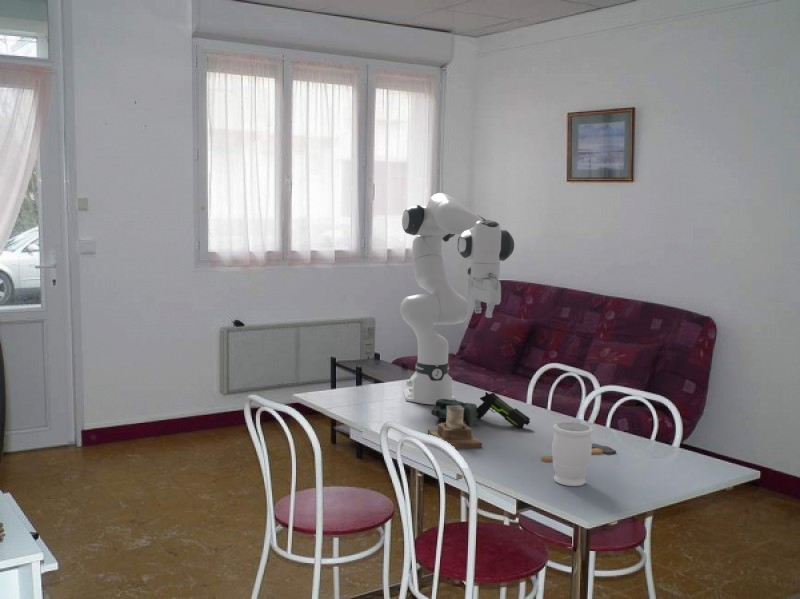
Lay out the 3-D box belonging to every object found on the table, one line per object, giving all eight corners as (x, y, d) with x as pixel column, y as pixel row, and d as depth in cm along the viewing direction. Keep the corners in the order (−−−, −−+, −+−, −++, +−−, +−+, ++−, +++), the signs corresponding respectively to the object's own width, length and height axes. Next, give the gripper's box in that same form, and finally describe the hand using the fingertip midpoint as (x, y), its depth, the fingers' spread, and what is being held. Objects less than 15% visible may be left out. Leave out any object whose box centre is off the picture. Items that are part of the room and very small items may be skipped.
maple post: (458, 433, 260) (459, 405, 259) (462, 437, 256) (464, 408, 255) (445, 434, 259) (446, 405, 258) (449, 438, 255) (451, 409, 254)
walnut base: (427, 434, 263) (428, 420, 263) (463, 432, 267) (464, 418, 266) (443, 449, 248) (444, 434, 248) (481, 447, 251) (482, 433, 251)
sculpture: (429, 412, 275) (474, 424, 272) (435, 391, 277) (479, 402, 274) (431, 421, 286) (474, 432, 283) (437, 400, 288) (480, 411, 285)
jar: (594, 488, 219) (598, 432, 217) (555, 488, 218) (559, 432, 217) (582, 475, 230) (586, 421, 228) (545, 474, 229) (548, 421, 227)
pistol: (531, 429, 274) (532, 399, 273) (526, 431, 272) (528, 401, 271) (475, 417, 287) (477, 388, 285) (470, 419, 284) (472, 390, 283)
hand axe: (594, 440, 260) (617, 449, 252) (593, 445, 260) (617, 454, 252) (527, 451, 246) (550, 461, 238) (527, 456, 246) (549, 466, 238)
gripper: (507, 275, 257) (504, 320, 258) (483, 269, 276) (481, 310, 278) (487, 275, 255) (485, 320, 257) (465, 268, 275) (463, 310, 276)
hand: (483, 315), depth 267 cm, fingers open, 8 cm apart
